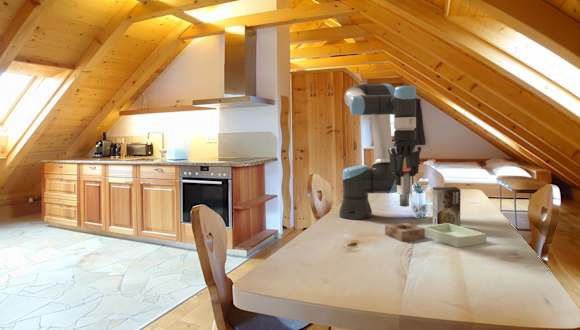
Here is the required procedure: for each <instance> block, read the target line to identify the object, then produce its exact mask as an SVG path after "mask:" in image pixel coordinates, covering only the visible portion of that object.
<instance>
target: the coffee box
mask: <svg viewBox="0 0 580 330" xmlns="http://www.w3.org/2000/svg"><path fill="white" fill-rule="evenodd" d="M444 223H450V224H453V225H457V226H461V189H460V188H458V187H456V186H436V187H435V186H433V187H432V225H437V224H444Z"/></svg>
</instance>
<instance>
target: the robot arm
mask: <svg viewBox="0 0 580 330" xmlns="http://www.w3.org/2000/svg"><path fill="white" fill-rule="evenodd" d="M417 97H418V95H417V88H416V86H414V85H401V86H396V87H395V88H394V86H393V85H392V84H391V83H383V82H381V83H367V84H366V83H362V84H361V83H360V84H356V85H353V86H351V87H349V88H348V89H347V90H346V91H344V94H343V101H344V103H345V105H346V106H347V107H348V108H349V112H350V114H351V115H352V116H371V124H372V125H371V126H372V129H371V130H372V141H373V143H372V145H373V156H374V157H373V158H374V159H373V160H374V162H373V163H372V164H371V168H369V166H368V164H367V165H366V164H363V165H360V164H359V165H353V166H348V167H345V168H344V169H343V170H342V178H341V179H342V201H341V204H340V207H339V211H338V213H339V214H338V216H339V217H340V218H343V219H346V220H347V219H348V220H366V219H370V218H372V217H373V211H372V208H371V205H370V202H369V194H397V195H400V194H401V195H403V184H404V177H402V170H403V167H404V161H405V165H406V168H411V171H409V195H411V194H413V184H414V177H415V176H417V174H418V173H419V168H420V157H421V156H420V155H421V152H422V146H417V145H416V142H415V141H416V139H417V131H416V130H415V129H416V128H417ZM391 115H392V116H394V117H393V119H394V120H393V123H394V124H393V128H394V129H395V130H394V132H393V134H394V135H393V139H392V129H391V128H392V125H391ZM393 140H394V144H393Z"/></svg>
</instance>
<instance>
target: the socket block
mask: <svg viewBox="0 0 580 330" xmlns="http://www.w3.org/2000/svg"><path fill="white" fill-rule="evenodd" d="M421 227H422V226H418V225H414V224H411V223H408V222H403V223H396V224H395V223H394V224H386V225H384V235H385V236H387V237H390V238H391V239H395V240H396V241H399V242H402V243H403V242H410V241H416V240H421V239H425V237H426V236H425V229H424V228H421Z"/></svg>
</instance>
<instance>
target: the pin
mask: <svg viewBox="0 0 580 330" xmlns="http://www.w3.org/2000/svg"><path fill="white" fill-rule="evenodd" d="M409 171H411V168H407V167H405V166H403V170H402V177H404V184H403V195H401V194H399V207H403V208H404V207H406V208H407V207H409V206H410V194H409Z"/></svg>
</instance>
